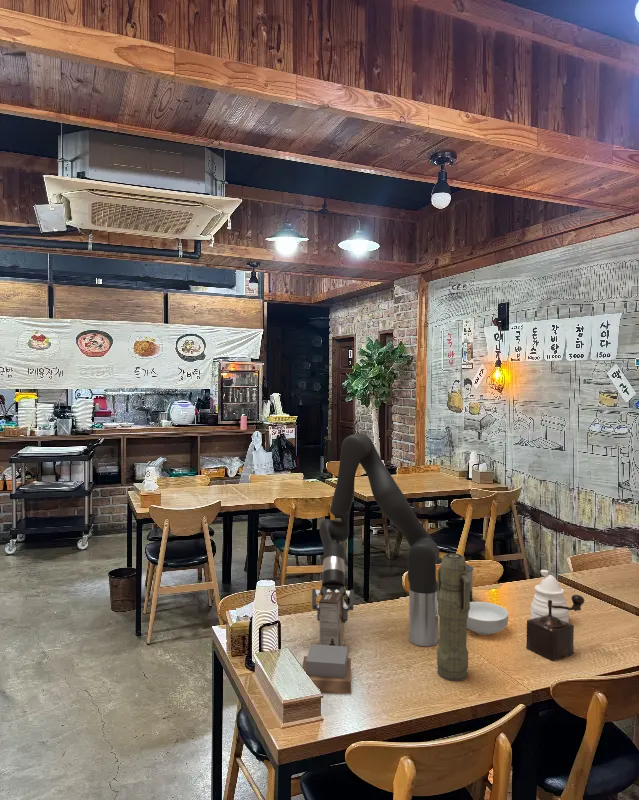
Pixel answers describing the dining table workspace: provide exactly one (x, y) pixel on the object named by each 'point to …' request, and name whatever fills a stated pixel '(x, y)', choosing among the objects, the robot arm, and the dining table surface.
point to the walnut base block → (333, 681)
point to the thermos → (453, 617)
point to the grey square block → (327, 661)
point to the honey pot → (549, 598)
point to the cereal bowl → (486, 618)
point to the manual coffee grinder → (552, 633)
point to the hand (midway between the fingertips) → (332, 621)
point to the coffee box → (331, 619)
